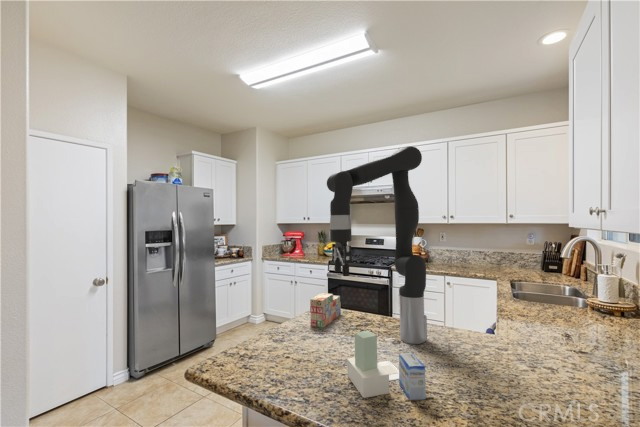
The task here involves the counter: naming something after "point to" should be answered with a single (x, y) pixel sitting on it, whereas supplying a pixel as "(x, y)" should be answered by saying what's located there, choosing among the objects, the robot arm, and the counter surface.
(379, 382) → the base brick
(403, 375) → the medicine box
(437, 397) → the counter surface
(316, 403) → the counter surface
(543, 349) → the counter surface
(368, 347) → the sage brick
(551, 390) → the counter surface
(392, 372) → the page
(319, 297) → the printed cardboard box
